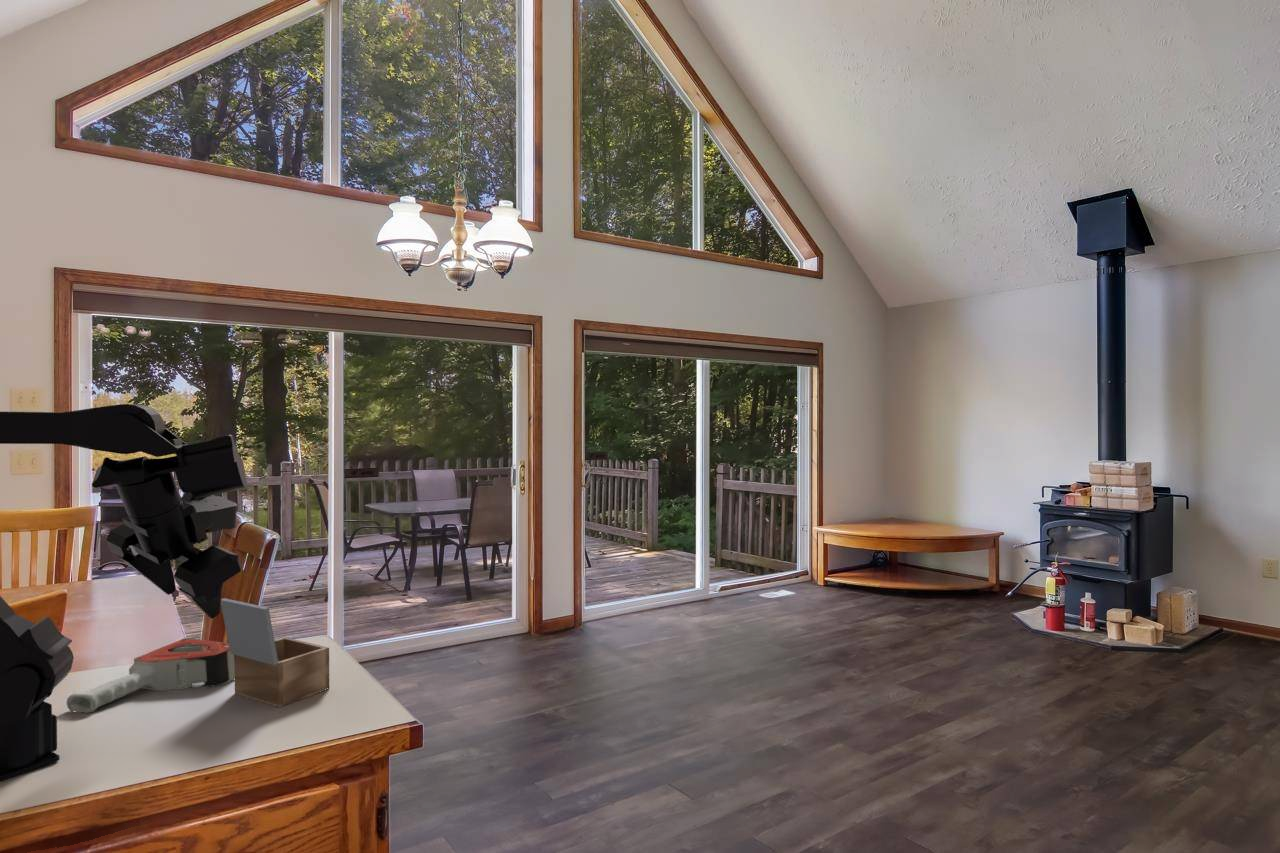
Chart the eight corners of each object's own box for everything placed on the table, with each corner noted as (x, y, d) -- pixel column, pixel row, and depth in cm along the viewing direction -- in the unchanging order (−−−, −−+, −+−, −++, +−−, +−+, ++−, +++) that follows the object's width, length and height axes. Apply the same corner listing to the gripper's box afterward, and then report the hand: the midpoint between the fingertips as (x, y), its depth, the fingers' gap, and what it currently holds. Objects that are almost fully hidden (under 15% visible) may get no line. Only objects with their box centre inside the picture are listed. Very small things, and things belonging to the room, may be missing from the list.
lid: (278, 663, 104) (274, 665, 104) (234, 651, 109) (230, 653, 109) (268, 607, 103) (264, 609, 102) (224, 598, 108) (220, 599, 107)
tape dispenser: (64, 731, 101) (235, 699, 109) (59, 691, 101) (232, 663, 108) (99, 680, 117) (246, 656, 125) (96, 646, 117) (243, 624, 124)
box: (279, 707, 104) (278, 663, 104) (234, 693, 110) (234, 651, 109) (329, 688, 111) (329, 647, 111) (285, 676, 116) (285, 637, 116)
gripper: (263, 492, 94) (293, 590, 102) (172, 455, 103) (205, 548, 110) (176, 541, 86) (216, 645, 94) (84, 496, 94) (127, 594, 102)
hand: (192, 604), depth 100 cm, fingers open, 9 cm apart
